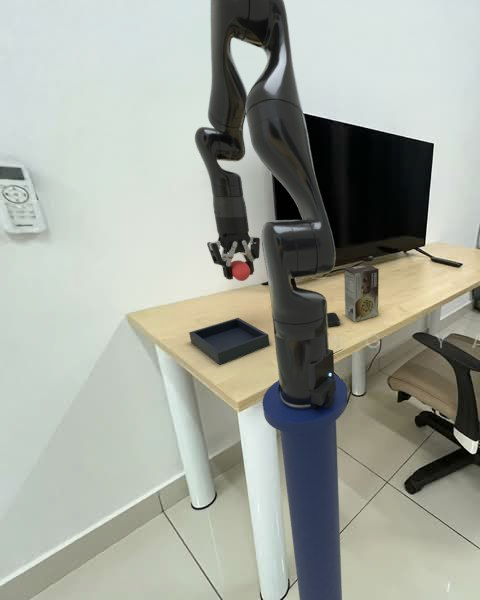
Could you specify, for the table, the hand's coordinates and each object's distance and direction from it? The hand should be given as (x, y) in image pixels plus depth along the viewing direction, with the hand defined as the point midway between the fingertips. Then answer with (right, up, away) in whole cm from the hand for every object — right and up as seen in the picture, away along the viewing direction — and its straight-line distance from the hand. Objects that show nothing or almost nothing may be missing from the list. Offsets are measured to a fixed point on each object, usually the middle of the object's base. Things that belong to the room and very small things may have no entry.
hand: (240, 276), depth 87 cm
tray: (+1, -18, -6) cm, 19 cm away
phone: (+19, -14, +7) cm, 24 cm away
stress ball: (0, -1, 0) cm, 1 cm away
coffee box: (+32, -12, +15) cm, 37 cm away
